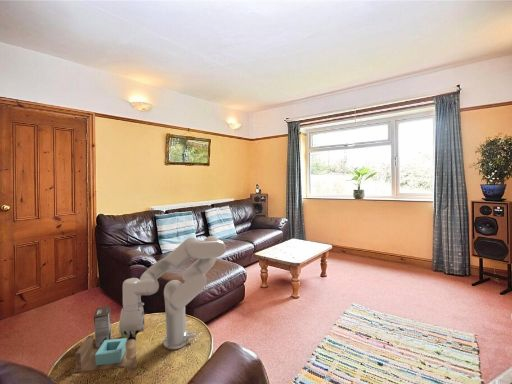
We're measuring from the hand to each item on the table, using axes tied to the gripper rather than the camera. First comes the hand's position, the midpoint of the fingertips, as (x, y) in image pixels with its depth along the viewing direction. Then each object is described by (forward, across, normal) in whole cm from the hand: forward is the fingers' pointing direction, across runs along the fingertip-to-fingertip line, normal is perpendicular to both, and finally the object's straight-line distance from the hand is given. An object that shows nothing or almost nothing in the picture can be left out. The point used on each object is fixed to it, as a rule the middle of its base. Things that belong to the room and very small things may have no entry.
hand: (132, 343), depth 121 cm
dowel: (+6, -2, +8) cm, 10 cm away
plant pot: (+7, +6, -15) cm, 18 cm away
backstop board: (+7, +11, 0) cm, 13 cm away
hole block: (+7, +9, 0) cm, 11 cm away
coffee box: (+7, +18, -14) cm, 24 cm away
